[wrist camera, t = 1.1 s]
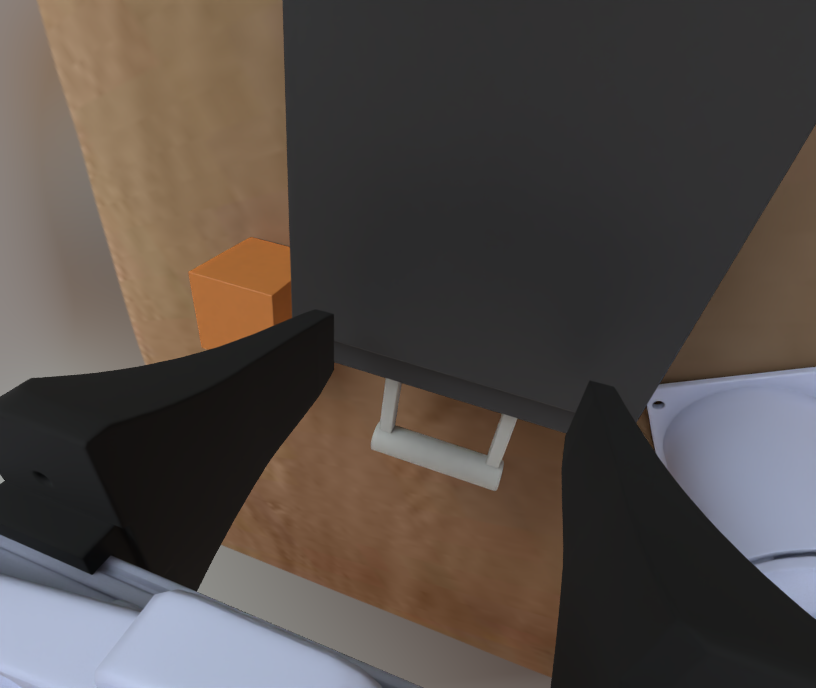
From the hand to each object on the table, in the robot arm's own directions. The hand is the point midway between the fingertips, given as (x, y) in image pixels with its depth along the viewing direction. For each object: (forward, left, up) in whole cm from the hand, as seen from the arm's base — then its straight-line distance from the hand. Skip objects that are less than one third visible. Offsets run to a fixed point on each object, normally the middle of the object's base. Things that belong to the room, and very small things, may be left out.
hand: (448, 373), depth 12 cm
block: (+1, +12, -10) cm, 16 cm away
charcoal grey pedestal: (+4, -2, -10) cm, 11 cm away
